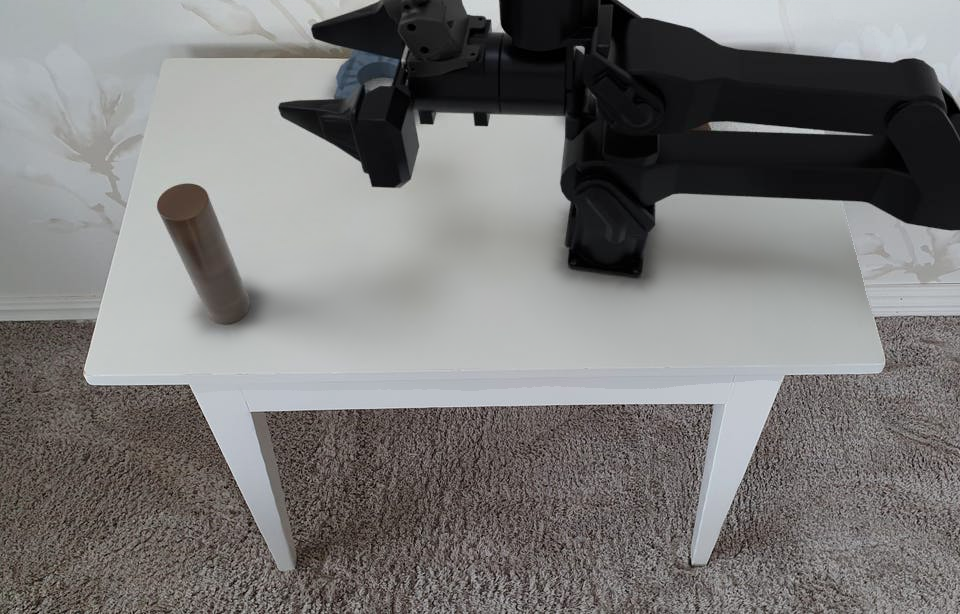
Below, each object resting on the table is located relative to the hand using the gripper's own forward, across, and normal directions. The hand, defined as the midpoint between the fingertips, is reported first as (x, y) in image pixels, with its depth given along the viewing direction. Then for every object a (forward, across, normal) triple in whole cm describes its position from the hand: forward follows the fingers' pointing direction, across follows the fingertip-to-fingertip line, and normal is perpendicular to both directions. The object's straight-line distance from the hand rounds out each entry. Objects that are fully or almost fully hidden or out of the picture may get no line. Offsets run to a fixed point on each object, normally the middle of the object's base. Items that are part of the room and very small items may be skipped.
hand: (296, 69), depth 60 cm
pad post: (+7, +11, +16) cm, 21 cm away
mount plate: (0, -18, +17) cm, 25 cm away
